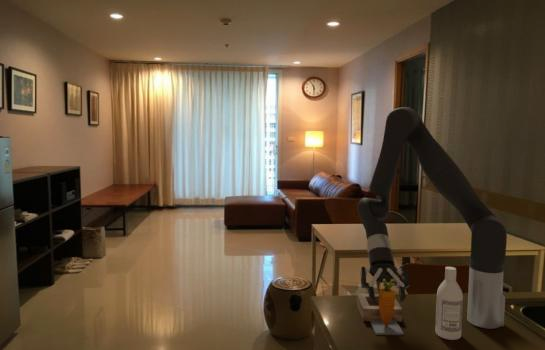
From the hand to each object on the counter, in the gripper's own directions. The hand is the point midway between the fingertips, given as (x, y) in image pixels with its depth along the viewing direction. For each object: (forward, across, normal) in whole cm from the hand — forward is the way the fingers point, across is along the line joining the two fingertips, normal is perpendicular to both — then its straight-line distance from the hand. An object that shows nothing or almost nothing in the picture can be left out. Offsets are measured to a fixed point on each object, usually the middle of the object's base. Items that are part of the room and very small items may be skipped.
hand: (388, 300), depth 120 cm
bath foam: (+8, +17, +5) cm, 20 cm away
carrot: (+5, 0, +7) cm, 9 cm away
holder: (-2, 0, +15) cm, 15 cm away
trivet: (+6, 0, +7) cm, 9 cm away
